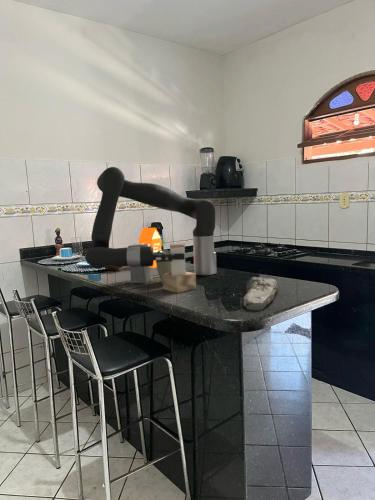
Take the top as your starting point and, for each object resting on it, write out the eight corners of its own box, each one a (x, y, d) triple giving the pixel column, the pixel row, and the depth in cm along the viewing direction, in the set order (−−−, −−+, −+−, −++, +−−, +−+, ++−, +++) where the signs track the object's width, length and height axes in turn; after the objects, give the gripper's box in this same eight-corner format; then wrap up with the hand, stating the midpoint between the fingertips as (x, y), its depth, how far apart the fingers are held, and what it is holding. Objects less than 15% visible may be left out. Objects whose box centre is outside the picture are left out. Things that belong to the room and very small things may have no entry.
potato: (116, 267, 197) (115, 252, 196) (128, 270, 187) (127, 254, 186) (101, 270, 192) (100, 254, 191) (113, 273, 182) (112, 256, 181)
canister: (171, 272, 148) (170, 243, 146) (185, 272, 148) (184, 243, 146) (171, 275, 142) (169, 245, 141) (185, 274, 142) (184, 244, 141)
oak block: (181, 285, 152) (181, 270, 151) (196, 289, 145) (195, 273, 144) (163, 289, 146) (162, 273, 146) (177, 293, 139) (176, 277, 139)
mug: (175, 285, 151) (174, 255, 149) (153, 284, 154) (151, 255, 153) (185, 279, 161) (184, 251, 160) (163, 278, 165) (162, 251, 163)
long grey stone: (236, 314, 116) (269, 318, 113) (236, 297, 115) (270, 301, 112) (254, 283, 148) (280, 285, 145) (255, 270, 147) (281, 272, 144)
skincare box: (145, 283, 156) (143, 245, 154) (129, 283, 158) (126, 245, 156) (151, 279, 164) (149, 242, 162) (135, 279, 166) (133, 243, 164)
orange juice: (153, 268, 193) (151, 228, 190) (139, 266, 197) (137, 228, 195) (162, 265, 199) (160, 227, 197) (149, 264, 204) (147, 227, 201)
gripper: (137, 249, 136) (184, 247, 136) (142, 244, 151) (184, 243, 150) (138, 269, 137) (184, 268, 137) (143, 263, 152) (185, 261, 151)
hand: (184, 255), depth 144 cm, fingers open, 6 cm apart
